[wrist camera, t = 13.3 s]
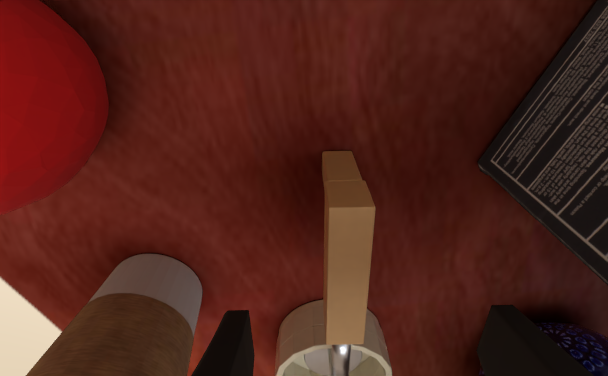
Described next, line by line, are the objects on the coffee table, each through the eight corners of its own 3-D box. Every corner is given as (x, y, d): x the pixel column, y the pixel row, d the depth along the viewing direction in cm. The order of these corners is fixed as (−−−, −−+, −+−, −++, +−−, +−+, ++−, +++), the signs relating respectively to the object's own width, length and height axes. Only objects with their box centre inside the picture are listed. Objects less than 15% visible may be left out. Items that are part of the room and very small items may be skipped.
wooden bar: (357, 358, 26) (373, 451, 21) (304, 360, 26) (305, 452, 21) (374, 149, 19) (404, 206, 14) (299, 151, 19) (299, 208, 14)
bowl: (396, 308, 25) (410, 354, 22) (361, 373, 29) (369, 421, 25) (291, 290, 24) (290, 335, 21) (269, 360, 28) (265, 407, 24)
